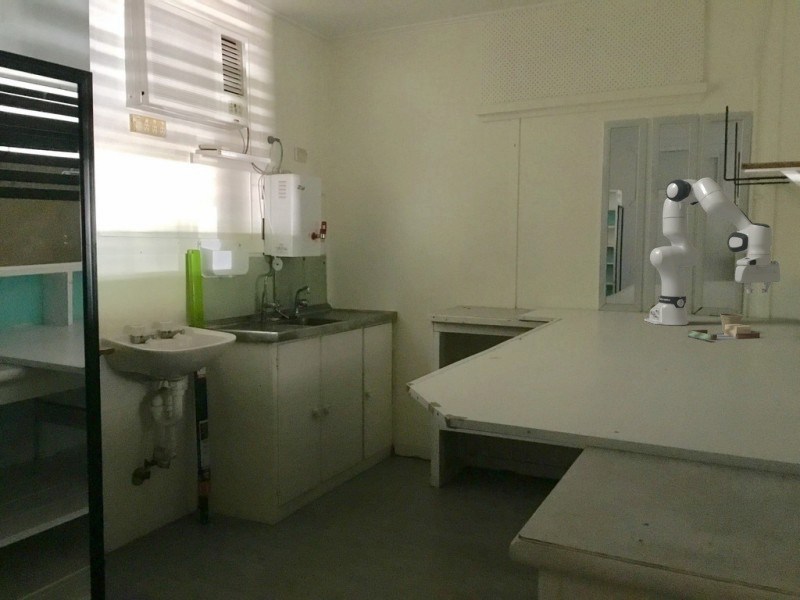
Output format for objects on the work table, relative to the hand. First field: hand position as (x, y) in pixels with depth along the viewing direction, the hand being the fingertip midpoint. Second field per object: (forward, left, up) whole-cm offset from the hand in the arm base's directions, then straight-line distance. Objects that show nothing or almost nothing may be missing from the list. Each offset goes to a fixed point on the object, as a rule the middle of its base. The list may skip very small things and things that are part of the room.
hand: (757, 293), depth 268 cm
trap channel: (0, -16, -19) cm, 25 cm away
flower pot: (-11, -3, -20) cm, 23 cm away
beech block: (0, -9, -18) cm, 20 cm away
